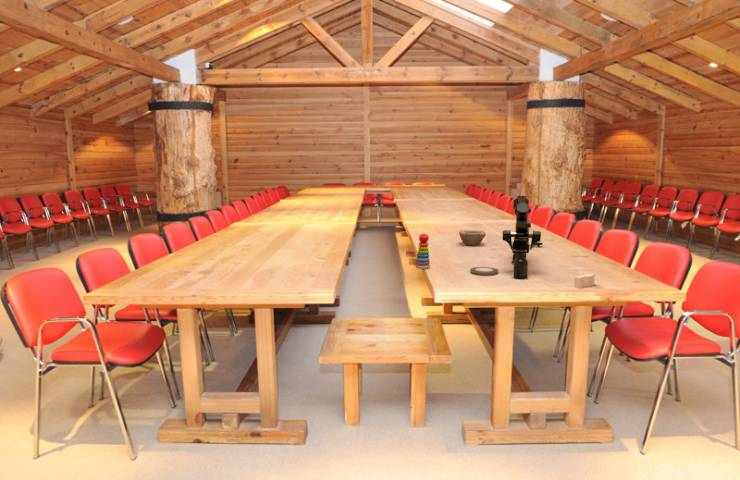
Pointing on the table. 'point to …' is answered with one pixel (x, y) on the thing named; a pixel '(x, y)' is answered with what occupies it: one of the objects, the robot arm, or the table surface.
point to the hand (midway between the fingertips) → (521, 249)
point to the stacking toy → (423, 253)
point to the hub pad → (484, 271)
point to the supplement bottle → (520, 266)
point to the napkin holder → (584, 281)
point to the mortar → (471, 237)
